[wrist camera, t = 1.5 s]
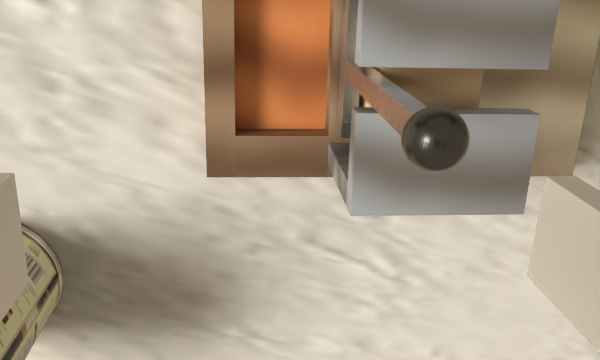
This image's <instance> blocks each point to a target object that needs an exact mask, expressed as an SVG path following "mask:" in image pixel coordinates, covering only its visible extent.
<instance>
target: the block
mask: <svg viewBox="0 0 600 360" xmlns="http://www.w3.org/2000/svg"><path fill="white" fill-rule="evenodd" d="M372 68H373V69H375V70H376V71H378V72H379V73H380V74H382V75H383V76H385V77H386V78H387V79H389V80H390V81H392V82H393V83H394V84H396V85H397V86H399V87H400V88H401V89H403V90H404V91H406V92H407V93H408V94H410V95H411V96H413V97H414V98H415V99H417V100H418V101H420V102H421V103H422V104H424V105H425V106H427V107H430V106H442V107H446V108H479V101H480V94H481V86H482V79H483V71H484V69H471V68H406V67H372ZM359 107H372V106H371V105H370V104H369V103H368V102H367V101H366V100H365V99H364V98H363V97H362V96H361V95H360V97H359Z"/></svg>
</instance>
